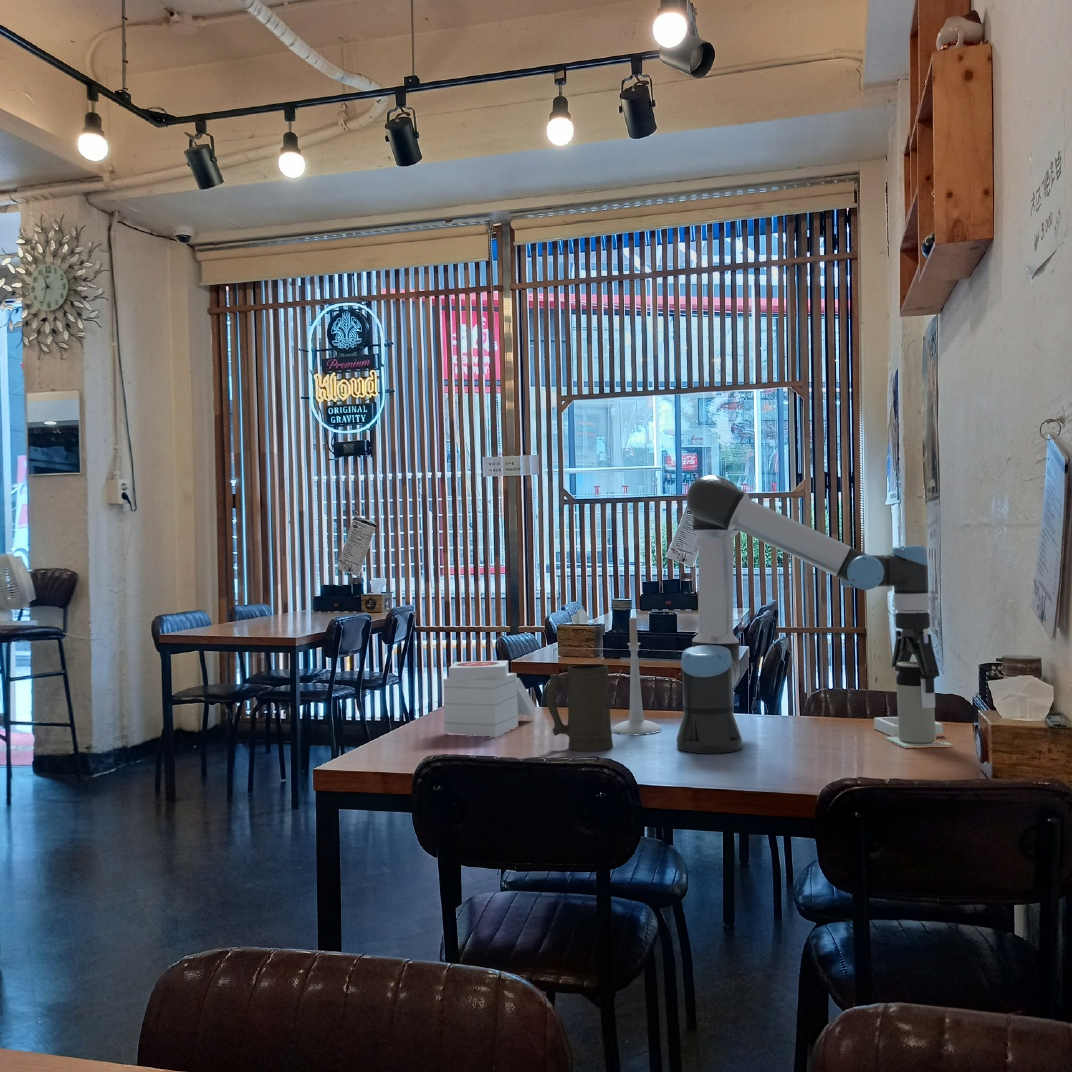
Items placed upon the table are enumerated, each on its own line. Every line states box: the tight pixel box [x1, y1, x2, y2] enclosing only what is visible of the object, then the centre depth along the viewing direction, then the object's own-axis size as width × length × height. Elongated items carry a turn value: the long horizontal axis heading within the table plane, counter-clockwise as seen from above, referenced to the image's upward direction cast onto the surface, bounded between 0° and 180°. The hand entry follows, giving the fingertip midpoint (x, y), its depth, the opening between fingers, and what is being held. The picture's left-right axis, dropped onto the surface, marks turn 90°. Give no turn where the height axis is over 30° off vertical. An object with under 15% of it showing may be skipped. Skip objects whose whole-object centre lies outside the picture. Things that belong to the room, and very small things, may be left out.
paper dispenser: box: [442, 659, 536, 738], centre depth 254 cm, size 19×30×18 cm, turn 158°
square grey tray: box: [873, 716, 944, 736], centre depth 227 cm, size 12×12×3 cm
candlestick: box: [611, 617, 662, 735], centre depth 243 cm, size 13×13×30 cm
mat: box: [884, 736, 953, 747], centre depth 215 cm, size 11×11×1 cm
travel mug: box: [895, 661, 937, 744], centre depth 215 cm, size 8×8×18 cm
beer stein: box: [546, 663, 614, 752], centre depth 222 cm, size 15×11×20 cm
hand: (915, 703), depth 215 cm, fingers open, 13 cm apart
